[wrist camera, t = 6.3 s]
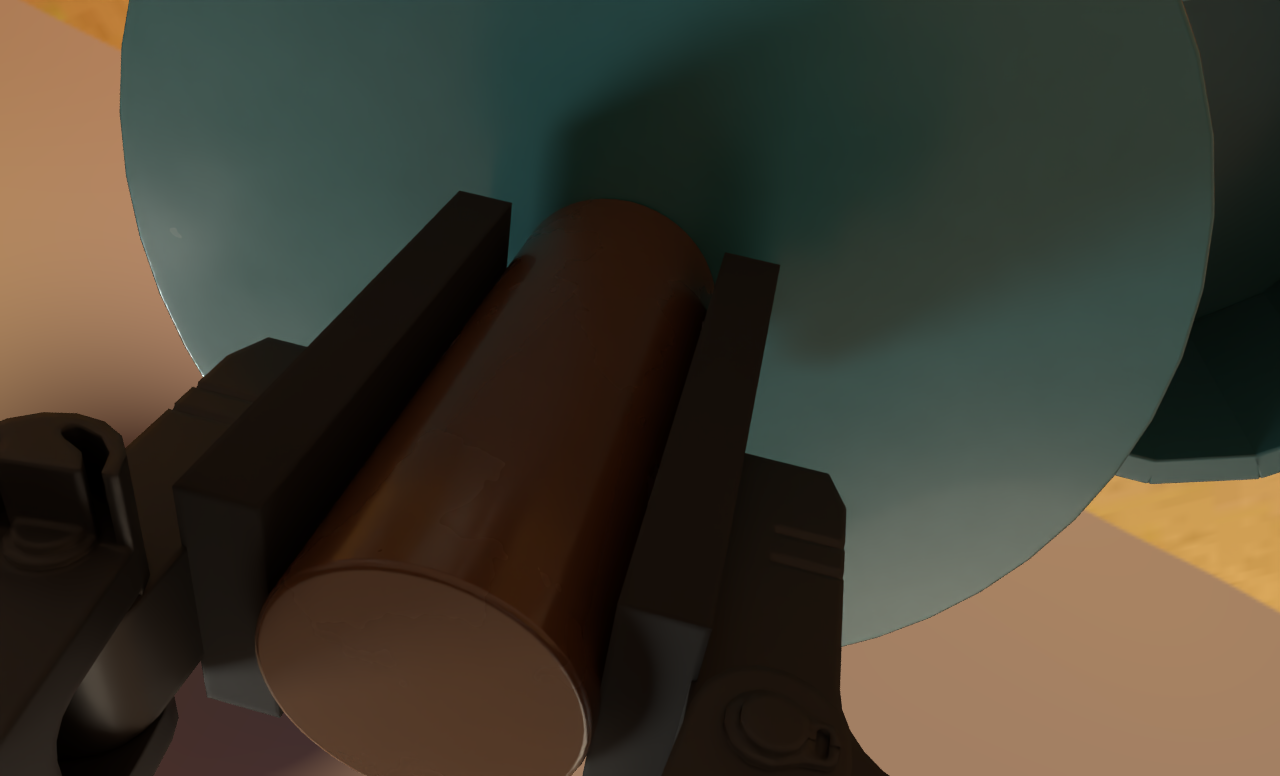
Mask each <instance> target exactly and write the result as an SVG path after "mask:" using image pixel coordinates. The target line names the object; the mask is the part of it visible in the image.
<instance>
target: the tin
mask: <svg viewBox="0 0 1280 776" xmlns="http://www.w3.org/2000/svg"><path fill="white" fill-rule="evenodd" d="M1182 1H1183V4H1184V7H1185V9H1186V12H1187V15H1188V18H1189V21H1190V24H1191V27H1192V30H1193V33H1194V36H1195V39H1196V42H1197V45H1198V48H1199V51H1200V54H1201V60H1202V66H1203V72H1204V78H1205V84H1206V90H1207V96H1208V102H1209V107H1210V113H1211V119H1212V125H1213V131H1214V171H1215V217H1214V223H1213V230H1212V237H1211V244H1210V250H1209V257H1208V264H1207V271H1206V277H1205V284H1204V290H1203V293H1202V296H1201V299H1200V302H1199V306H1198V309H1197V312H1196V315H1195V319H1194V322H1193V325H1192V328H1191V331H1190V335H1189V338H1188V341H1187V344H1186V348H1185V351H1184V354H1183V357H1182V359H1181V361H1180V364H1179V366H1178V368H1177V370H1176V372H1175V374H1174V376H1173V378H1172V380H1171V382H1170V384H1169V386H1168V388H1167V391H1166V393H1165V395H1164V397H1163V399H1162V401H1161V403H1160V405H1159V407H1158V409H1157V411H1156V413H1155V415H1154V418H1153V420H1152V421H1151V423H1150V424H1149V426H1148V427H1147V428H1146V430H1145V431H1144V433H1143V434H1142V436H1141V437H1140V439H1139V440H1138V442H1137V443H1136V445H1135V446H1134V448H1133V449H1132V451H1131V452H1130V454H1129V455H1128V457H1127V458H1126V460H1125V461H1124V463H1123V464H1122V466H1121V467H1120V469H1119V470H1118V472H1117V473H1116V474H1115V475H1116V476H1120V477H1124V478H1128V479H1132V480H1136V481H1139V482H1143V483H1148V482H1149V483H1150V484H1161V483H1182V482H1204V481H1225V480H1247V479H1259V477H1261V478H1264V477H1267V476H1270V475H1273V474H1276V473H1279V472H1280V0H1182Z"/></svg>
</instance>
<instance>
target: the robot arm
mask: <svg viewBox="0 0 1280 776" xmlns="http://www.w3.org/2000/svg"><path fill="white" fill-rule="evenodd" d="M511 212H512V203H511V202H507V201H503V200H499V199H494V198H490V197H486V196H481V195H477V194H473V193H468V192H464V191H459V192H458V193H457V194H456V195H455V196H454V197H453V198H452V199H451V200H450V201H449V202H448V203H447V204H446V205H445V206H444V207H443V208H442V209H441V210H440V211H439V212H438V213H437V214H436V215H435V216H434V217H433V218H432V219H431V220H430V221H429V222H428V223H427V224H426V225H425V226H424V227H423V229H422V230H421V231H420V232H419V233H418V234H417V235H416V236H415V237H414V238H413V239H412V240H411V241H410V242H409V243H408V244H407V245H406V246H405V247H404V248H403V249H402V250H401V251H400V252H399V253H398V254H397V255H396V256H395V257H394V258H393V259H392V260H391V261H390V262H389V263H388V264H387V266H386V267H385V268H384V269H383V270H382V271H381V272H380V273H379V274H378V275H377V276H376V277H375V278H374V279H373V280H372V281H371V282H370V283H369V284H368V285H367V286H366V287H365V288H364V289H363V290H362V291H361V292H360V293H359V294H358V295H357V296H356V297H355V298H354V299H353V300H352V301H351V303H350V304H349V305H348V306H347V307H346V308H345V309H344V310H343V311H342V312H341V313H340V314H339V315H338V316H337V317H336V318H335V319H334V320H333V321H332V322H331V323H330V324H329V325H328V326H327V327H326V328H325V329H324V330H323V331H322V332H321V333H320V334H319V335H318V336H317V337H316V338H315V339H314V341H313V342H312V343H311V344H310V345H309V346H308V347H306V346H302V345H298V344H294V343H290V342H286V341H282V340H278V339H274V338H270V337H268V338H265V339H263V340H261V341H259V342H256V343H254V344H252V345H250V346H247V347H245V348H243V349H241V350H238V351H236V352H234V353H232V354H229V355H227V356H226V357H225V358H224V359H223V360H222V361H220V362H219V363H218V364H217V365H216V366H215V367H214V368H213V369H212V370H211V371H209V372H208V373H207V374H206V375H205V376H204V377H203V378H202V379H201V380H200V381H199V382H198V386H197V388H195V387H192V388H191V389H190V390H189V391H188V392H187V393H185V394H184V395H183V396H182V397H181V398H180V399H179V400H178V401H177V402H176V403H175V406H174V408H173V410H171V409H168V410H167V411H166V412H165V413H164V414H162V415H161V416H160V417H159V418H158V419H157V420H156V421H155V422H154V423H153V424H151V425H150V426H149V427H148V428H147V429H146V430H145V431H144V432H143V433H142V434H141V435H139V436H138V437H137V438H136V439H135V440H134V441H133V442H132V443H131V444H130V445H128V446H127V447H126V448H125V447H124V443H123V439H122V436H121V435H120V434H119V433H118V432H117V431H115V430H114V429H113V428H111V426H109V425H108V424H107V423H106V422H104V421H101V420H98V419H94V418H91V417H88V416H84V415H80V414H77V413H48V412H43V413H37V414H31V415H25V416H19V417H13V418H7V419H5V420H2V421H0V776H153V775H154V774H155V772H156V770H157V768H158V766H159V764H160V762H161V760H162V758H163V756H164V754H165V752H166V751H167V749H168V747H169V745H170V743H171V741H172V739H173V735H174V732H175V728H176V725H177V721H178V712H177V707H176V703H175V697H174V695H175V694H176V693H177V691H178V690H179V689H180V687H181V686H182V684H183V683H184V682H185V681H186V679H187V678H188V677H189V675H190V674H191V673H192V671H193V670H194V669H195V667H196V666H197V665H198V663H199V662H200V661H201V663H202V669H203V675H204V681H205V687H206V693H207V697H209V698H212V699H216V700H220V701H223V702H226V703H230V704H233V705H237V706H241V707H244V708H247V709H251V710H254V711H258V712H261V713H265V714H268V715H272V716H276V717H279V718H280V717H281V716H282V714H283V711H282V709H281V708H280V706H279V705H278V703H277V702H276V701H275V699H274V698H273V696H272V695H271V693H270V691H269V689H268V687H267V685H266V684H265V682H264V680H263V677H262V674H261V672H260V669H259V666H258V662H257V657H256V653H255V630H256V625H257V619H258V615H259V612H260V610H261V607H262V605H263V602H264V601H265V599H266V598H267V597H268V595H269V594H270V592H271V591H272V590H273V588H274V587H275V585H276V584H277V583H278V581H279V580H280V579H281V577H282V576H283V574H284V573H285V572H286V570H287V569H288V568H289V566H290V565H291V563H292V562H293V561H294V559H295V558H296V557H297V555H298V554H299V552H300V551H301V550H302V548H303V547H304V546H305V544H306V543H307V541H308V540H309V539H310V537H311V536H312V535H313V533H314V532H315V531H316V529H317V528H318V526H319V525H320V524H321V522H322V521H323V520H324V518H325V517H326V515H327V514H328V513H329V511H330V510H331V509H332V507H333V506H334V504H335V503H336V502H337V500H338V499H339V498H340V496H341V495H342V493H343V492H344V491H345V489H346V488H347V487H348V485H349V484H350V482H351V481H352V480H353V478H354V477H355V476H356V474H357V473H358V472H359V470H360V469H361V467H362V466H363V465H364V463H365V462H366V461H367V459H368V458H369V456H370V455H371V454H372V452H373V451H374V450H375V448H376V447H377V445H378V444H379V443H380V441H381V440H382V439H383V437H384V436H385V434H386V433H387V432H388V430H389V429H390V428H391V426H392V425H393V423H394V422H395V421H396V419H397V418H398V417H399V415H400V414H401V412H402V411H403V410H404V408H405V407H406V406H407V404H408V403H409V402H410V400H411V399H412V397H413V396H414V395H415V393H416V392H417V391H418V389H419V388H420V386H421V385H422V384H423V382H424V381H425V380H426V378H427V377H428V375H429V374H430V373H431V371H432V370H433V369H434V367H435V366H436V364H437V363H438V362H439V360H440V359H441V358H442V356H443V355H444V353H445V352H446V351H447V349H448V348H449V347H450V345H451V344H452V343H453V341H454V340H455V338H456V337H457V336H458V334H459V333H460V332H461V330H462V329H463V327H464V326H465V325H466V323H467V322H468V321H469V319H470V318H471V316H472V315H473V314H474V312H475V311H476V310H477V308H478V307H479V305H480V304H481V303H482V301H483V300H484V299H485V297H486V296H487V294H488V293H489V292H490V290H491V289H492V288H493V286H494V285H495V283H496V282H497V281H498V279H499V278H500V277H501V275H502V274H503V273H504V271H505V270H506V268H507V260H508V248H509V236H510V224H511ZM779 269H780V265H779V264H774V263H770V262H766V261H761V260H757V259H753V258H749V257H744V256H740V255H736V254H731V253H727V252H725V254H724V257H723V260H722V264H721V267H720V270H719V274H718V277H717V280H716V283H715V287H714V290H713V293H712V296H711V300H710V303H709V306H708V309H707V313H706V316H705V319H704V323H703V326H702V329H701V332H700V336H699V339H698V342H697V345H696V349H695V352H694V355H693V358H692V362H691V365H690V368H689V372H688V375H687V378H686V381H685V385H684V388H683V391H682V394H681V398H680V401H679V404H678V407H677V411H676V414H675V417H674V421H673V424H672V427H671V430H670V434H669V437H668V440H667V443H666V447H665V450H664V453H663V456H662V460H661V463H660V466H659V470H658V473H657V476H656V479H655V483H654V486H653V489H652V492H651V496H650V499H649V502H648V505H647V509H646V512H645V515H644V519H643V522H642V525H641V528H640V532H639V535H638V538H637V541H636V545H635V548H634V551H633V554H632V558H631V561H630V564H629V568H628V571H627V574H626V577H625V581H624V584H623V587H622V590H621V594H620V597H619V600H618V603H617V608H616V613H615V618H614V623H613V628H612V633H611V638H610V643H609V648H608V653H607V657H606V662H605V667H604V672H603V677H602V682H601V687H600V694H601V706H600V715H599V719H598V722H597V726H596V729H595V733H594V736H593V740H592V743H591V746H590V749H589V752H588V754H587V756H586V761H585V766H584V771H583V776H889V775H888V774H886V773H885V772H883V771H882V770H881V769H880V768H879V767H878V766H877V764H876V763H874V761H873V760H872V759H871V758H870V757H869V756H868V755H867V754H866V753H865V752H864V751H863V749H862V748H861V746H860V745H859V743H858V742H857V740H856V739H855V737H854V736H853V734H852V733H851V731H850V729H849V726H848V724H847V721H846V718H845V716H844V713H843V711H842V704H841V696H840V672H841V645H842V618H843V590H844V580H843V575H844V563H845V550H844V546H845V536H846V507H845V505H844V503H843V501H842V499H841V497H840V495H839V493H838V491H837V489H836V487H835V485H834V483H833V481H832V479H831V477H830V475H829V474H828V473H824V472H820V471H816V470H812V469H808V468H804V467H800V466H796V465H791V464H787V463H783V462H779V461H775V460H771V459H767V458H763V457H759V456H755V455H751V454H747V453H745V451H746V445H747V440H748V435H749V429H750V424H751V419H752V413H753V408H754V403H755V397H756V392H757V387H758V381H759V376H760V371H761V365H762V360H763V355H764V349H765V344H766V339H767V333H768V328H769V323H770V317H771V312H772V307H773V301H774V296H775V291H776V285H777V280H778V275H779Z"/></svg>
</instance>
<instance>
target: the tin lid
mask: <svg viewBox="0 0 1280 776" xmlns="http://www.w3.org/2000/svg"><path fill="white" fill-rule="evenodd" d="M120 120H121V130H122V140H123V150H124V160H125V169H126V178H127V182H128V187H129V191H130V195H131V200H132V204H133V209H134V213H135V218H136V222H137V226H138V231H139V235H140V238H141V241H142V244H143V247H144V250H145V252H146V256H147V259H148V262H149V264H150V267H151V270H152V273H153V276H154V279H155V282H156V285H157V287H158V290H159V293H160V295H161V297H162V300H163V301H164V304H165V306H166V308H167V310H168V312H169V314H170V316H171V319H172V321H173V323H174V325H175V327H176V329H177V331H178V333H179V335H180V338H181V340H182V342H183V344H184V346H185V348H186V349H187V351H188V352H189V354H190V356H191V358H192V359H193V361H194V363H195V364H196V366H197V368H198V369H199V371H200V372H201V374H202V376H203V377H204V376H205V375H206V374H207V373H208V372H209V371H211V370H212V369H213V368H214V367H215V366H216V365H217V364H218V363H219V362H220V361H222V360H223V359H224V358H225V357H226V356H227V355H229V354H232V353H234V352H236V351H238V350H241V349H243V348H245V347H247V346H250V345H252V344H254V343H256V342H259V341H261V340H263V339H265V338H268V337H270V338H274V339H278V340H282V341H286V342H290V343H294V344H298V345H302V346H306V347H308V346H309V345H310V344H311V343H312V342H313V341H314V339H315V338H316V337H317V336H318V335H319V334H320V333H321V332H322V331H323V330H324V329H325V328H326V327H327V326H328V325H329V324H330V323H331V322H332V321H333V320H334V319H335V318H336V317H337V316H338V315H339V314H340V313H341V312H342V311H343V310H344V309H345V308H346V307H347V306H348V305H349V304H350V303H351V301H352V300H353V299H354V298H355V297H356V296H357V295H358V294H359V293H360V292H361V291H362V290H363V289H364V288H365V287H366V286H367V285H368V284H369V283H370V282H371V281H372V280H373V279H374V278H375V277H376V276H377V275H378V274H379V273H380V272H381V271H382V270H383V269H384V268H385V267H386V266H387V264H388V263H389V262H390V261H391V260H392V259H393V258H394V257H395V256H396V255H397V254H398V253H399V252H400V251H401V250H402V249H403V248H404V247H405V246H406V245H407V244H408V243H409V242H410V241H411V240H412V239H413V238H414V237H415V236H416V235H417V234H418V233H419V232H420V231H421V230H422V229H423V227H424V226H425V225H426V224H427V223H428V222H429V221H430V220H431V219H432V218H433V217H434V216H435V215H436V214H437V213H438V212H439V211H440V210H441V209H442V208H443V207H444V206H445V205H446V204H447V203H448V202H449V201H450V200H451V199H452V198H453V197H454V196H455V195H456V194H457V193H458V192H459V191H464V192H468V193H473V194H477V195H481V196H486V197H490V198H494V199H499V200H503V201H507V202H511V203H512V212H511V224H510V236H509V248H508V260H507V268H506V270H505V271H504V273H503V274H502V275H501V277H500V278H499V279H498V281H497V282H496V283H495V285H494V286H493V288H492V289H491V290H490V292H489V293H488V294H487V296H486V297H485V299H484V300H483V301H482V303H481V304H480V305H479V307H478V308H477V310H476V311H475V312H474V314H473V315H472V316H471V318H470V319H469V321H468V322H467V323H466V325H465V326H464V327H463V329H462V330H461V332H460V333H459V334H458V336H457V337H456V338H455V340H454V341H453V343H452V344H451V345H450V347H449V348H448V349H447V351H446V352H445V353H444V355H443V356H442V358H441V359H440V360H439V362H438V363H437V364H436V366H435V367H434V369H433V370H432V371H431V373H430V374H429V375H428V377H427V378H426V380H425V381H424V382H423V384H422V385H421V386H420V388H419V389H418V391H417V392H416V393H415V395H414V396H413V397H412V399H411V400H410V402H409V403H408V404H407V406H406V407H405V408H404V410H403V411H402V412H401V414H400V415H399V417H398V418H397V419H396V421H395V422H394V423H393V425H392V426H391V428H390V429H389V430H388V432H387V433H386V434H385V436H384V437H383V439H382V440H381V441H380V443H379V444H378V445H377V447H376V448H375V450H374V451H373V452H372V454H371V455H370V456H369V458H368V459H367V461H366V462H365V463H364V465H363V466H362V467H361V469H360V470H359V472H358V473H357V474H356V476H355V477H354V478H353V480H352V481H351V482H350V484H349V485H348V487H347V488H346V489H345V491H344V492H343V493H342V495H341V496H340V498H339V499H338V500H337V502H336V503H335V504H334V506H333V507H332V509H331V510H330V511H329V513H328V514H327V515H326V517H325V518H324V520H323V521H322V522H321V524H320V525H319V526H318V528H317V529H316V531H315V532H314V533H313V535H312V536H311V537H310V539H309V540H308V541H307V543H306V544H305V546H304V547H303V548H302V550H301V551H300V552H299V554H298V555H297V557H296V558H295V559H294V561H293V562H292V563H291V565H290V566H289V568H288V569H287V570H286V572H285V573H284V574H283V576H282V577H281V579H280V580H279V581H278V583H277V584H276V585H275V587H274V588H273V590H272V591H271V592H270V594H269V595H268V597H267V598H266V599H265V601H264V602H263V605H262V607H261V610H260V612H259V615H258V619H257V625H256V630H255V653H256V657H257V662H258V666H259V669H260V672H261V674H262V677H263V680H264V682H265V684H266V685H267V687H268V689H269V691H270V693H271V695H272V696H273V698H274V699H275V701H276V702H277V703H278V705H279V706H280V708H281V709H282V711H283V712H284V713H285V714H286V715H287V716H288V717H289V719H290V720H291V721H292V722H293V723H294V724H295V725H296V726H297V727H298V728H299V729H300V730H301V731H302V732H303V733H304V734H305V735H306V736H307V737H308V738H309V739H311V740H312V741H313V742H314V743H316V744H317V745H318V746H319V747H320V748H322V749H323V750H324V751H326V752H327V753H328V754H330V755H331V756H333V757H334V758H336V759H337V760H339V761H340V762H342V763H344V764H345V765H347V766H349V767H350V768H352V769H354V770H355V771H357V772H359V773H361V774H363V775H365V776H571V775H572V774H573V773H574V772H575V771H576V770H577V768H578V767H579V766H580V765H581V764H582V762H583V761H584V759H585V757H586V755H587V754H588V752H589V749H590V746H591V743H592V740H593V736H594V733H595V729H596V726H597V722H598V719H599V715H600V706H601V694H600V687H601V682H602V677H603V672H604V667H605V662H606V657H607V653H608V648H609V643H610V638H611V633H612V628H613V623H614V618H615V613H616V608H617V603H618V600H619V597H620V594H621V590H622V587H623V584H624V581H625V577H626V574H627V571H628V568H629V564H630V561H631V558H632V554H633V551H634V548H635V545H636V541H637V538H638V535H639V532H640V528H641V525H642V522H643V519H644V515H645V512H646V509H647V505H648V502H649V499H650V496H651V492H652V489H653V486H654V483H655V479H656V476H657V473H658V470H659V466H660V463H661V460H662V456H663V453H664V450H665V447H666V443H667V440H668V437H669V434H670V430H671V427H672V424H673V421H674V417H675V414H676V411H677V407H678V404H679V401H680V398H681V394H682V391H683V388H684V385H685V381H686V378H687V375H688V372H689V368H690V365H691V362H692V358H693V355H694V352H695V349H696V345H697V342H698V339H699V336H700V332H701V329H702V326H703V323H704V319H705V316H706V313H707V309H708V306H709V303H710V300H711V296H712V293H713V290H714V287H715V283H716V280H717V277H718V274H719V270H720V267H721V264H722V260H723V257H724V254H725V252H727V253H731V254H736V255H740V256H744V257H749V258H753V259H757V260H761V261H766V262H770V263H774V264H779V265H780V269H779V275H778V280H777V285H776V291H775V296H774V301H773V307H772V312H771V317H770V323H769V328H768V333H767V339H766V344H765V349H764V355H763V360H762V365H761V371H760V376H759V381H758V387H757V392H756V397H755V403H754V408H753V413H752V419H751V424H750V429H749V435H748V440H747V445H746V451H745V453H747V454H751V455H755V456H759V457H763V458H767V459H771V460H775V461H779V462H783V463H787V464H791V465H796V466H800V467H804V468H808V469H812V470H816V471H820V472H824V473H828V474H829V475H830V477H831V479H832V481H833V483H834V485H835V487H836V489H837V491H838V493H839V495H840V497H841V499H842V501H843V503H844V505H845V507H846V536H845V546H844V550H845V563H844V575H843V580H844V590H843V618H842V645H841V647H843V646H847V645H850V644H854V643H858V642H862V641H866V640H870V639H873V638H877V637H880V636H883V635H885V634H888V633H891V632H893V631H896V630H899V629H901V628H904V627H906V626H909V625H912V624H914V623H917V622H920V621H923V620H925V619H928V618H930V617H932V616H934V615H936V614H938V613H940V612H942V611H944V610H946V609H948V608H950V607H952V606H954V605H956V604H957V603H960V602H962V601H964V600H966V599H968V598H970V597H971V596H973V595H975V594H977V593H979V592H981V591H983V590H984V589H985V588H987V587H989V586H990V585H991V584H993V583H995V582H996V581H998V580H999V579H1001V578H1002V577H1004V576H1005V575H1006V574H1008V573H1010V572H1011V571H1013V570H1014V569H1015V568H1017V567H1018V566H1020V565H1022V564H1023V563H1024V562H1026V561H1027V560H1029V559H1030V558H1031V557H1032V556H1034V555H1035V554H1036V553H1037V552H1038V551H1039V550H1041V549H1042V548H1043V547H1044V546H1045V545H1046V544H1047V543H1049V542H1050V541H1051V540H1052V539H1053V538H1054V537H1056V536H1057V535H1058V534H1059V533H1060V532H1061V531H1063V530H1064V529H1065V528H1066V527H1067V526H1068V525H1070V523H1072V522H1073V521H1074V520H1075V519H1076V518H1077V517H1078V516H1079V515H1080V514H1081V512H1082V511H1083V510H1084V509H1085V508H1086V507H1087V506H1088V505H1089V503H1090V502H1091V501H1092V500H1093V499H1094V498H1095V497H1096V496H1097V494H1098V493H1099V492H1100V491H1101V490H1102V489H1103V488H1104V487H1105V486H1106V484H1107V483H1108V482H1109V481H1110V480H1111V479H1112V478H1113V477H1114V475H1115V474H1116V473H1117V472H1118V470H1119V469H1120V467H1121V466H1122V464H1123V463H1124V461H1125V460H1126V458H1127V457H1128V455H1129V454H1130V452H1131V451H1132V449H1133V448H1134V446H1135V445H1136V443H1137V442H1138V440H1139V439H1140V437H1141V436H1142V434H1143V433H1144V431H1145V430H1146V428H1147V427H1148V426H1149V424H1150V423H1151V421H1152V420H1153V418H1154V415H1155V413H1156V411H1157V409H1158V407H1159V405H1160V403H1161V401H1162V399H1163V397H1164V395H1165V393H1166V391H1167V388H1168V386H1169V384H1170V382H1171V380H1172V378H1173V376H1174V374H1175V372H1176V370H1177V368H1178V366H1179V364H1180V361H1181V359H1182V357H1183V354H1184V351H1185V348H1186V344H1187V341H1188V338H1189V335H1190V331H1191V328H1192V325H1193V322H1194V319H1195V315H1196V312H1197V309H1198V306H1199V302H1200V299H1201V296H1202V293H1203V290H1204V284H1205V277H1206V271H1207V264H1208V257H1209V250H1210V244H1211V237H1212V230H1213V223H1214V217H1215V171H1214V131H1213V125H1212V119H1211V113H1210V107H1209V102H1208V96H1207V90H1206V84H1205V78H1204V72H1203V66H1202V60H1201V54H1200V51H1199V48H1198V45H1197V42H1196V39H1195V36H1194V33H1193V30H1192V27H1191V24H1190V21H1189V18H1188V15H1187V12H1186V9H1185V7H1184V4H1183V1H1182V0H129V5H128V11H127V17H126V23H125V29H124V35H123V41H122V49H121V84H120Z"/></svg>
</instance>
